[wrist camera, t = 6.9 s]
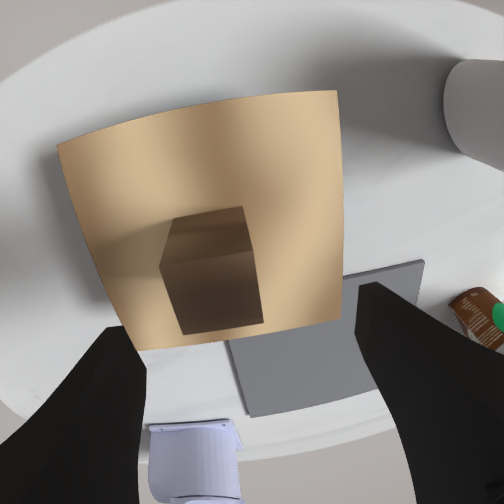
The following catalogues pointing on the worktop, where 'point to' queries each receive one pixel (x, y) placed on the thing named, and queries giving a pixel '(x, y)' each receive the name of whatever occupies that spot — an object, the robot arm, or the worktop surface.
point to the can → (477, 109)
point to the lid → (215, 217)
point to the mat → (315, 352)
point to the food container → (480, 317)
